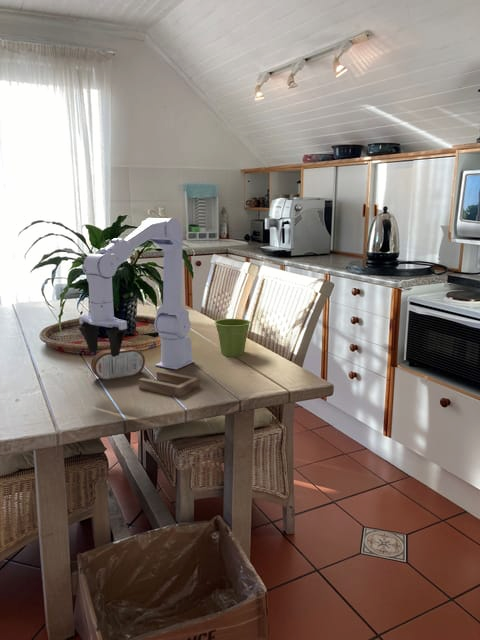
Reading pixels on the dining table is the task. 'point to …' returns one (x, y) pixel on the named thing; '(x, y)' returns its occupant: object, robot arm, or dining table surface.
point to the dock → (181, 388)
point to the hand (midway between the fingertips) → (104, 353)
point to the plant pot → (232, 335)
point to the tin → (118, 363)
